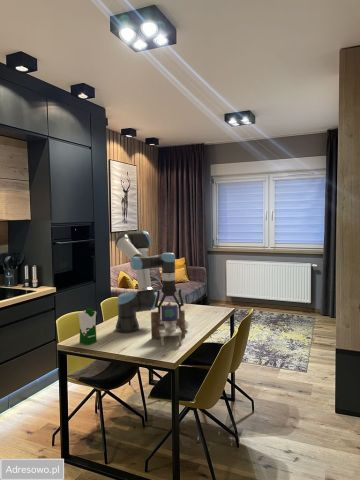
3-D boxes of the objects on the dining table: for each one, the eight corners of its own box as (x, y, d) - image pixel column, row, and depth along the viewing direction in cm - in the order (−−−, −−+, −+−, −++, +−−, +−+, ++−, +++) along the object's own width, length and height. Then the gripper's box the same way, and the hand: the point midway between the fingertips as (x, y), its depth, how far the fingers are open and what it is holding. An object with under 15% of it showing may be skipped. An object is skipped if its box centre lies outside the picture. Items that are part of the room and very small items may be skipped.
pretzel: (191, 328, 237) (190, 314, 236) (186, 334, 225) (186, 320, 225) (174, 327, 240) (174, 314, 239) (168, 333, 228) (168, 319, 228)
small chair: (153, 347, 203) (153, 319, 202) (151, 338, 219) (150, 311, 218) (189, 344, 206) (188, 316, 205) (184, 336, 222) (184, 310, 221)
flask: (177, 319, 212) (177, 301, 212) (177, 320, 209) (177, 302, 209) (161, 320, 211) (161, 301, 211) (161, 321, 208) (161, 303, 208)
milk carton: (86, 345, 208) (85, 311, 207) (77, 342, 214) (75, 308, 212) (99, 341, 215) (97, 307, 213) (89, 338, 220) (88, 305, 219)
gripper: (150, 281, 204) (151, 321, 205) (188, 280, 207) (189, 319, 208) (149, 279, 211) (150, 318, 212) (186, 278, 214) (187, 315, 216)
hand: (169, 318), depth 210 cm, fingers closed on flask, 9 cm apart
